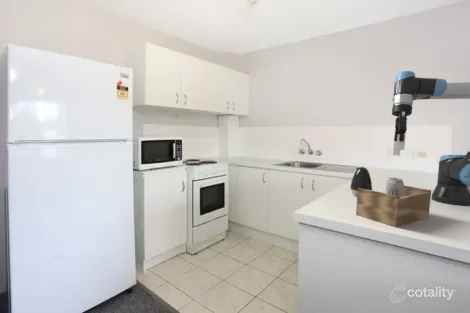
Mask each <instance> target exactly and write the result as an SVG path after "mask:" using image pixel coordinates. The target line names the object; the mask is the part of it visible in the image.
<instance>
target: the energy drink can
mask: <svg viewBox="0 0 470 313" xmlns="http://www.w3.org/2000/svg"><path fill="white" fill-rule="evenodd" d="M385 181H386V182H385V190H384V193H386V194H391V195H396V196H400V197H403V191H404V186H405V182H404V180H403V178H400V177H388V178H387V180H385Z"/></svg>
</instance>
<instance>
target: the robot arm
mask: <svg viewBox="0 0 470 313" xmlns="http://www.w3.org/2000/svg"><path fill="white" fill-rule="evenodd" d="M393 85H394V87H393V98H392V99H391V101H392V107H391V108H392V109H391V115H392V116H394V117H396V118H395V122H394V124H395V126H394V127H395V129H394V137H393V149H392V150H393V151H392V156H401V150H402V151H403V150H405V147H406V146H405V145H406V144H405V143H406V133H407V130H408V128H407V123H408V122H407V121H408V117H409V116H411V115H412V114H413V105H414V101H416V100H458V99H459V100H460V99H461V100H462V99H463V100H466V99H468V100H469V99H470V81H467V82H447V80H446V79H444V78H438V77H436V78H432V77H416V73H415V72H414V71H412V70H411V71H410V70H404V71H400V72H398V73H397V74H396V75H395V80H394V84H393ZM437 172H438V173H437V182H436V186H435V187H434V190H433V191H432V192H431V198H430V200H432V201H436V202H439V203H443V204H448V205H457V206H470V190H469V187H470V150H468V151H467V152H466V154H443V155H441V156H440V157H439V161H438V171H437Z"/></svg>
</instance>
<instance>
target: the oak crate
mask: <svg viewBox="0 0 470 313" xmlns="http://www.w3.org/2000/svg"><path fill="white" fill-rule="evenodd" d="M431 197H432V190H431V189H426V188H420V187H414V186H409V185H404V191H403V197H400V196H396V195H391V194H386V193H385V192H382V191H377V190H376V191H375V190H373V189H372V190H367V189H363V188H358V193H357V196H356V210H355V216H359V217H362V218H365V219H368V220H371V221H374V222H378V223H381V224H383V225H387V226H391V227H394V228H398V227H401V226H405V225H407V224H411V223H414V222H417V221H421V220H424V219H427V218H429V217H430V207H431Z"/></svg>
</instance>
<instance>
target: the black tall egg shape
mask: <svg viewBox="0 0 470 313" xmlns="http://www.w3.org/2000/svg"><path fill="white" fill-rule="evenodd" d="M349 186H350V187H349V188H350V191H351V193H352V195H353V196H355V197H357V193H358V188H363V189H367V190H372V191H373V182H372V177H371V174H370V172H369V170H368V169H367V168H366V167H363V166H362V167H358V166H357V167H356V170H355V171H354V174H353V176H352V179H351V183H350V185H349Z"/></svg>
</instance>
